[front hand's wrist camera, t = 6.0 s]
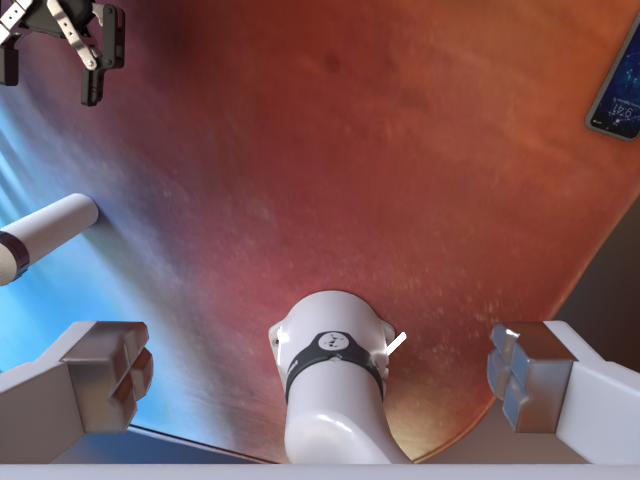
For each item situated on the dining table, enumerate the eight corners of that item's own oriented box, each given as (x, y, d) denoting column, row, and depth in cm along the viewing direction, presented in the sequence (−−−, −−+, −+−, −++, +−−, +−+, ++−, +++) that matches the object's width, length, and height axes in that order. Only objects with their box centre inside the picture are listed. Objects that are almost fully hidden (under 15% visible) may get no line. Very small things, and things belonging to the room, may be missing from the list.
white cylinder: (100, 199, 57) (18, 246, 42) (96, 230, 59) (15, 287, 43) (65, 189, 57) (-32, 232, 41) (61, 221, 59) (-33, 274, 43)
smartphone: (707, 15, 49) (635, 144, 54) (699, 16, 50) (630, 142, 55) (650, -7, 48) (583, 126, 53) (644, -5, 49) (579, 125, 54)
